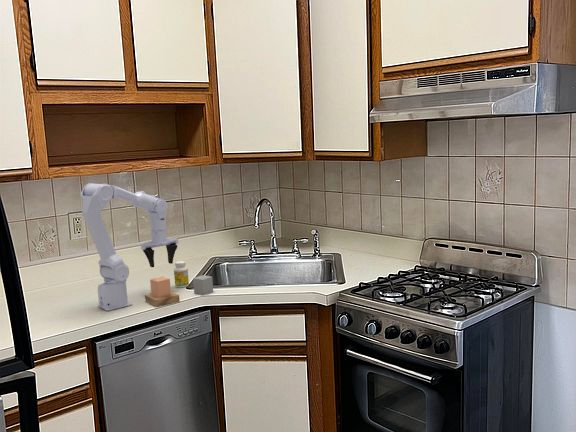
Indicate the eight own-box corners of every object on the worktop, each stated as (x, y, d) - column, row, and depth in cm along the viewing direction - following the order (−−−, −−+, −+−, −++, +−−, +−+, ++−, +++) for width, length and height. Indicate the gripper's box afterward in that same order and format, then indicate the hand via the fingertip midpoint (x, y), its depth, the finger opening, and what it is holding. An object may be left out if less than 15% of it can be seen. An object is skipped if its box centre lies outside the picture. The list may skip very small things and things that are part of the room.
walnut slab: (156, 308, 202) (155, 300, 201) (145, 303, 209) (144, 295, 209) (179, 303, 207) (179, 295, 207) (168, 298, 214) (167, 290, 214)
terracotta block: (158, 298, 204) (157, 281, 203) (151, 295, 208) (150, 279, 207) (171, 295, 207) (169, 278, 206) (163, 292, 211) (162, 276, 210)
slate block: (203, 295, 214) (202, 279, 213) (194, 293, 217) (193, 278, 216) (213, 292, 218) (212, 276, 217) (203, 290, 221) (202, 275, 220)
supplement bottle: (191, 285, 229) (190, 261, 228) (182, 288, 225) (180, 264, 223) (181, 283, 232) (180, 260, 231) (172, 286, 228) (170, 263, 226)
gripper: (145, 233, 210) (148, 270, 212) (181, 228, 219) (183, 263, 221) (137, 231, 216) (140, 267, 218) (172, 226, 225) (174, 260, 227)
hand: (161, 265), depth 220 cm, fingers open, 7 cm apart
